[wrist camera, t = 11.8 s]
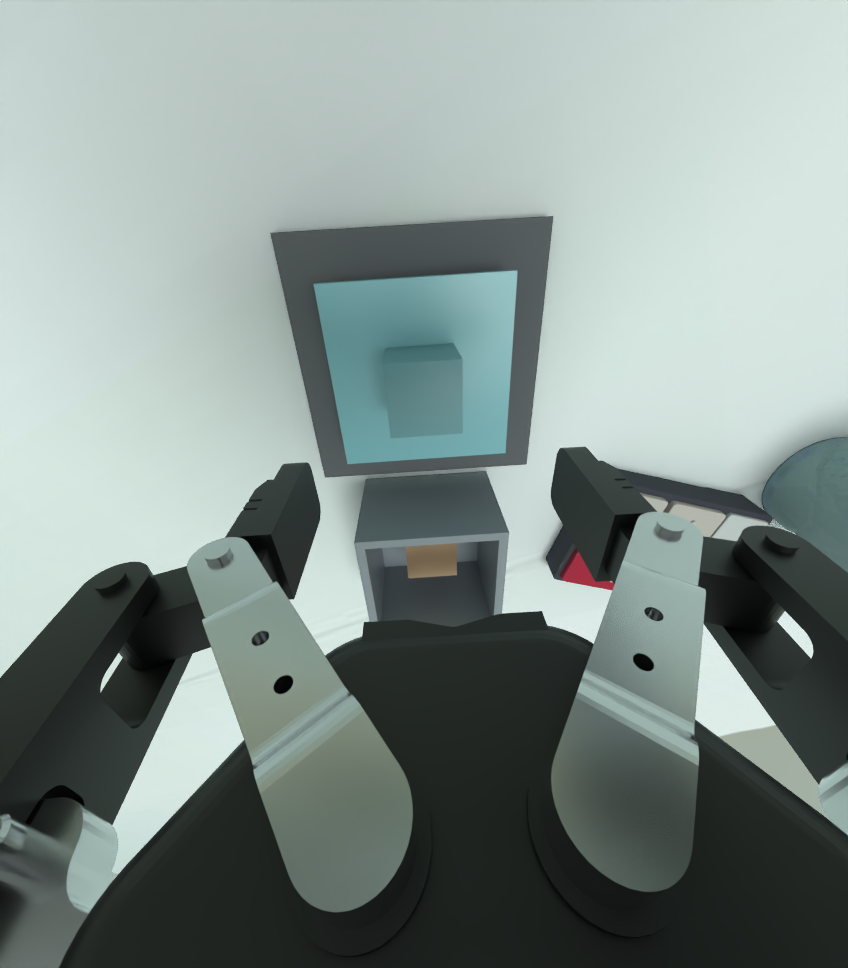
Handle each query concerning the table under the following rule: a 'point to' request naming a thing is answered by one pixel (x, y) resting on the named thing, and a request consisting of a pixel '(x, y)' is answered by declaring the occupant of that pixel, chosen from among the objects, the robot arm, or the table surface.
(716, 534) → the calculator
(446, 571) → the block
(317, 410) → the mat
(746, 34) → the table surface
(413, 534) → the box
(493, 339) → the lid
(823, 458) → the grey cup
